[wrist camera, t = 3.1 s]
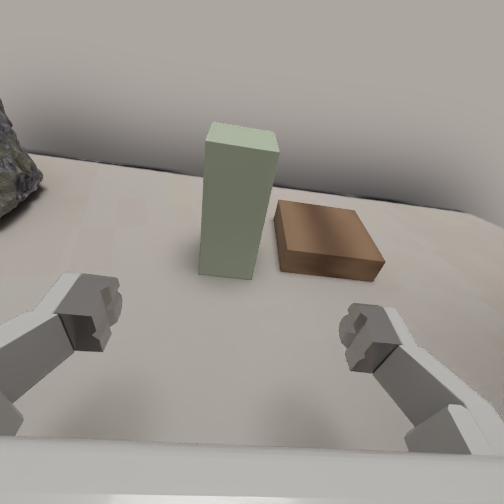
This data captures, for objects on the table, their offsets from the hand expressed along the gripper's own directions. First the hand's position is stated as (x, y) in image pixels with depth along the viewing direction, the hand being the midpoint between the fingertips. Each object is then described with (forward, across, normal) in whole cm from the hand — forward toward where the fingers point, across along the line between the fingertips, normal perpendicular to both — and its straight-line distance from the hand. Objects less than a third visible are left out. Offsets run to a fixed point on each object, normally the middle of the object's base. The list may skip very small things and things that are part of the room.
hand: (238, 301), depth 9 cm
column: (+12, 0, +9) cm, 15 cm away
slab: (+16, -9, +9) cm, 21 cm away
